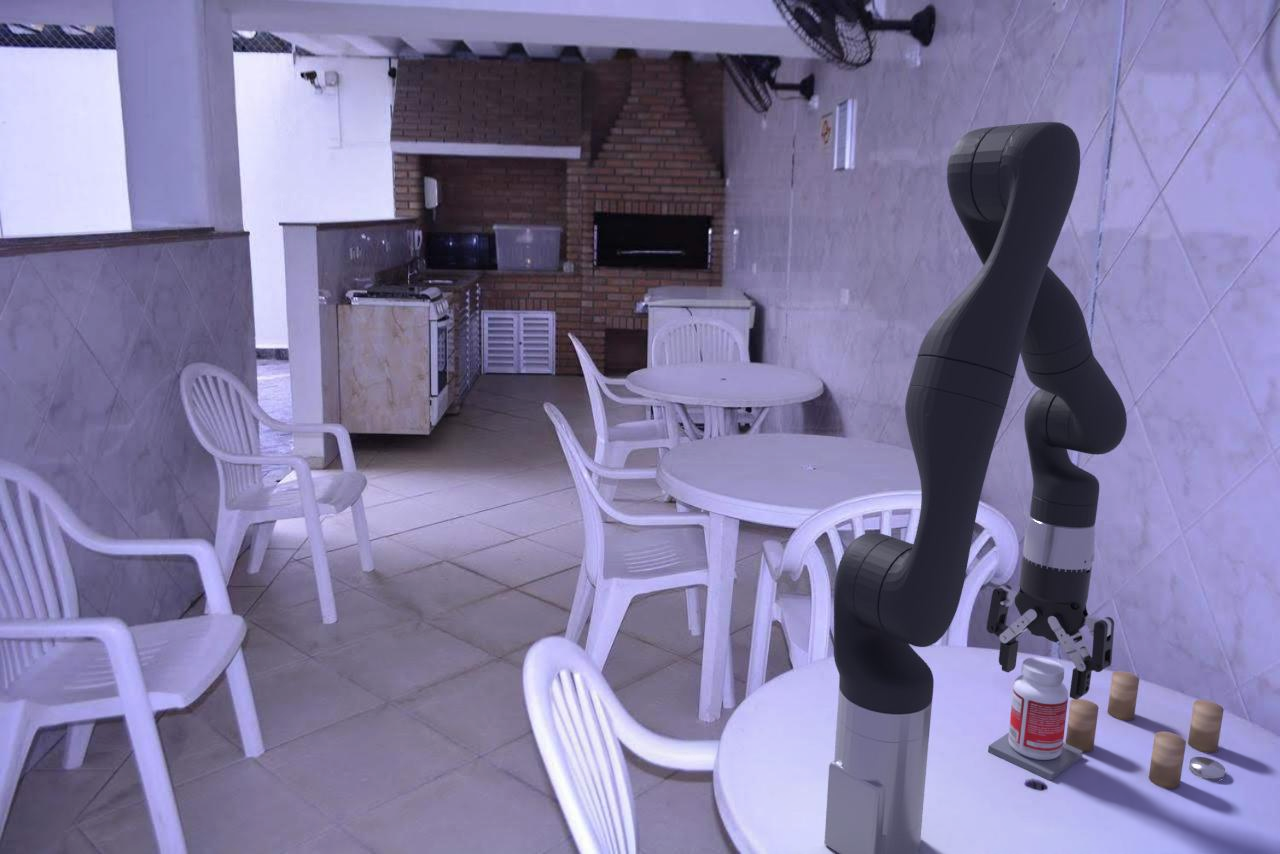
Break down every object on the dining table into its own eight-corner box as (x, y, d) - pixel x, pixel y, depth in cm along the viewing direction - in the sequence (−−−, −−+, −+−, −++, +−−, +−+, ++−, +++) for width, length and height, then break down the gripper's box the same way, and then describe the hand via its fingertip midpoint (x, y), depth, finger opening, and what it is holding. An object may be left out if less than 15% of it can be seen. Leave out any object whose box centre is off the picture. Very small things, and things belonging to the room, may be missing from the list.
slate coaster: (1050, 780, 108) (1051, 774, 108) (988, 751, 114) (988, 745, 114) (1082, 756, 113) (1082, 751, 113) (1020, 730, 119) (1021, 724, 119)
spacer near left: (1173, 792, 106) (1179, 749, 105) (1144, 779, 109) (1150, 737, 108) (1184, 782, 108) (1190, 739, 107) (1155, 770, 111) (1161, 728, 110)
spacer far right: (1128, 723, 121) (1133, 684, 120) (1103, 713, 124) (1108, 675, 123) (1138, 715, 123) (1143, 677, 122) (1113, 705, 126) (1118, 668, 125)
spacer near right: (1086, 754, 114) (1091, 714, 113) (1060, 743, 116) (1065, 704, 115) (1098, 746, 116) (1103, 706, 115) (1072, 735, 118) (1077, 696, 117)
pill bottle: (1072, 752, 113) (1082, 669, 110) (1042, 767, 109) (1051, 682, 107) (1027, 729, 118) (1035, 649, 116) (997, 743, 115) (1005, 661, 112)
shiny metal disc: (1217, 786, 108) (1218, 777, 108) (1184, 772, 111) (1185, 763, 110) (1228, 775, 110) (1229, 766, 110) (1195, 762, 113) (1196, 753, 113)
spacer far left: (1211, 756, 114) (1218, 715, 113) (1183, 745, 116) (1189, 705, 115) (1221, 747, 116) (1227, 707, 115) (1193, 736, 118) (1199, 697, 117)
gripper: (984, 546, 111) (971, 670, 114) (1104, 580, 101) (1086, 716, 104) (1016, 535, 116) (1002, 654, 119) (1133, 566, 105) (1115, 697, 109)
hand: (1041, 683), depth 112 cm, fingers open, 8 cm apart
